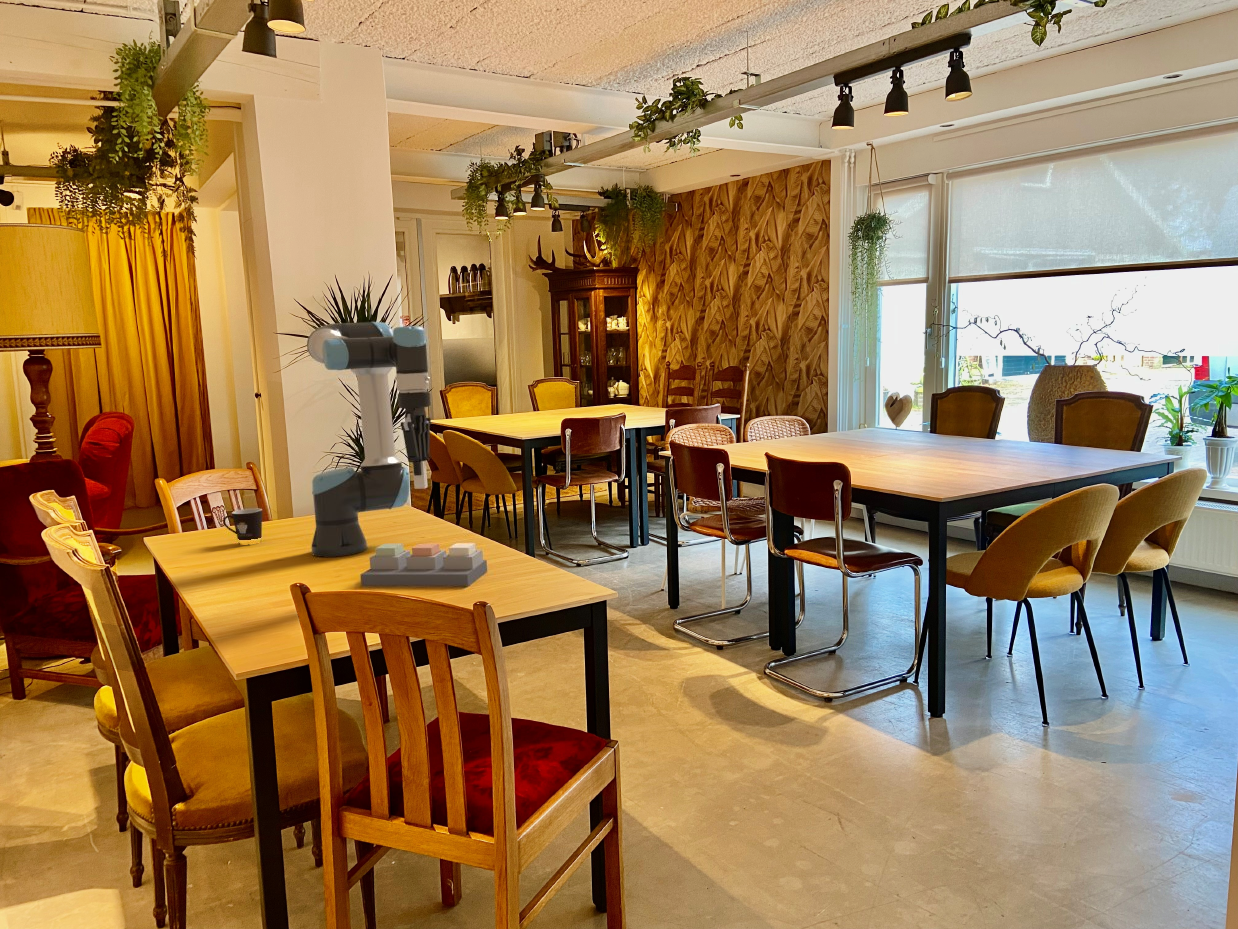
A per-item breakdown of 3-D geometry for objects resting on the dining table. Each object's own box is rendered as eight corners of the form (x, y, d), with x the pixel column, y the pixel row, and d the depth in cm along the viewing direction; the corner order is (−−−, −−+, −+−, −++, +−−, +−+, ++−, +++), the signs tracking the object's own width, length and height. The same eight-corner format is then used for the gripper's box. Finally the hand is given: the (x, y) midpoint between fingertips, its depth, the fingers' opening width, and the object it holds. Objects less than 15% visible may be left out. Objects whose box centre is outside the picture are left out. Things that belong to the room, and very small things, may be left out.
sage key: (376, 560, 218) (375, 548, 218) (385, 556, 223) (384, 543, 223) (395, 560, 217) (394, 548, 217) (404, 556, 222) (403, 543, 222)
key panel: (361, 586, 213) (359, 562, 213) (386, 571, 227) (384, 548, 226) (468, 586, 208) (466, 561, 208) (487, 571, 222) (485, 548, 221)
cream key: (449, 560, 215) (448, 547, 214) (457, 555, 220) (456, 543, 219) (469, 560, 214) (468, 547, 214) (476, 555, 219) (475, 543, 218)
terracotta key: (412, 560, 217) (411, 548, 216) (420, 555, 221) (420, 543, 221) (432, 560, 216) (431, 547, 215) (439, 555, 221) (438, 543, 220)
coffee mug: (271, 541, 273) (268, 509, 272) (246, 547, 266) (243, 514, 264) (248, 538, 279) (244, 507, 278) (223, 544, 272) (219, 512, 271)
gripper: (417, 392, 206) (425, 492, 209) (438, 389, 219) (445, 483, 222) (387, 393, 207) (395, 492, 210) (410, 390, 220) (417, 484, 223)
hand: (421, 487), depth 216 cm, fingers closed
